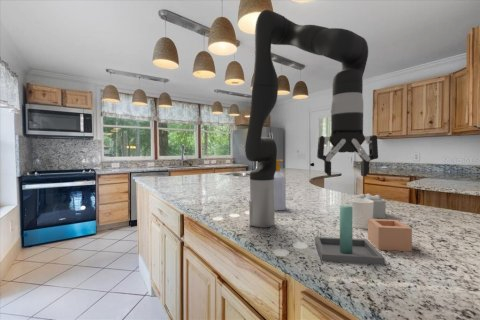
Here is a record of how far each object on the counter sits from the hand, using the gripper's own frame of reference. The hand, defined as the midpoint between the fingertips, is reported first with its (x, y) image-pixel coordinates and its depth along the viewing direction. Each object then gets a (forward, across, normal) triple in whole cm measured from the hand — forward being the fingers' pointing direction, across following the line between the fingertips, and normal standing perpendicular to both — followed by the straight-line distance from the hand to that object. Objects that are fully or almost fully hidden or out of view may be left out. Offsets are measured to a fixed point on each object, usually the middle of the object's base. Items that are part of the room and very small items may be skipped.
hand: (346, 175), depth 61 cm
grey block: (+22, +20, +44) cm, 53 cm away
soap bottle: (+22, -19, +49) cm, 57 cm away
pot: (+21, +13, +7) cm, 26 cm away
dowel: (+20, 0, 0) cm, 20 cm away
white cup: (+21, +11, +24) cm, 34 cm away
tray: (+21, 0, 0) cm, 21 cm away
